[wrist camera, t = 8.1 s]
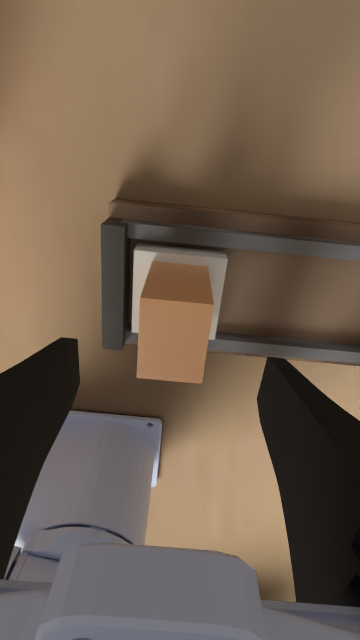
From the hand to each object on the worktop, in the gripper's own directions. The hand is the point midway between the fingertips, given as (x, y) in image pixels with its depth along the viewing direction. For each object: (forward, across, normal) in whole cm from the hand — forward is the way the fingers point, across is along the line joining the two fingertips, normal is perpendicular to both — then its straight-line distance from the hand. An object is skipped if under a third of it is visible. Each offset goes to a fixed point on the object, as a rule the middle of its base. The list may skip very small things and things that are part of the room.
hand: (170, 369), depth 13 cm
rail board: (+10, -6, 0) cm, 12 cm away
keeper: (+8, 0, 0) cm, 8 cm away
